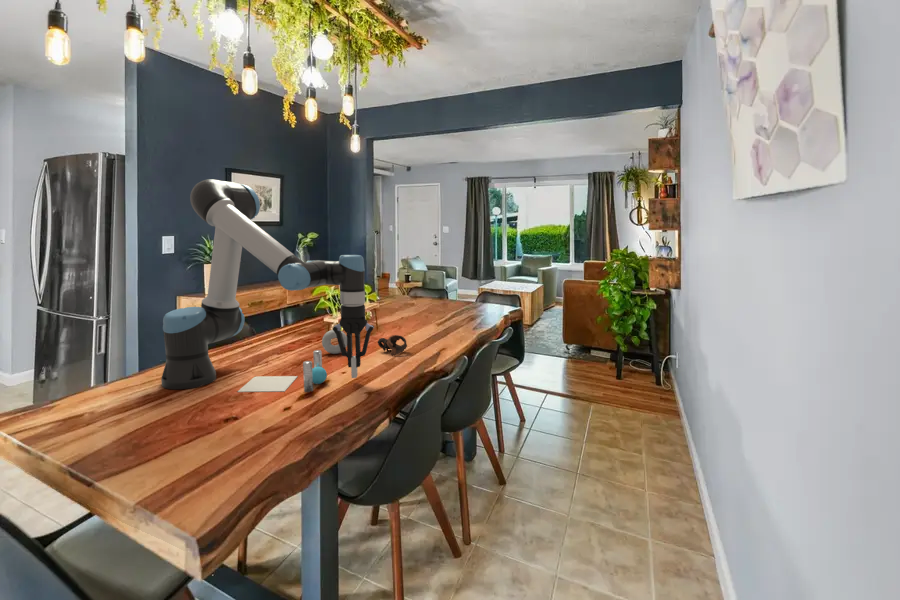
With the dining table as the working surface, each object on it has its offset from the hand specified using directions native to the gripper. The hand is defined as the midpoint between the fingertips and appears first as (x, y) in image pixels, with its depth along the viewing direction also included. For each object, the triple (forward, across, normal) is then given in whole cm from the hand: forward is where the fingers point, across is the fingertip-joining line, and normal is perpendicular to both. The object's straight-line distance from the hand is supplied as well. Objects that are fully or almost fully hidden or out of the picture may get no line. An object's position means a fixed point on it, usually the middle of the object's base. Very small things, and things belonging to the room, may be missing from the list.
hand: (354, 376), depth 141 cm
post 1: (+2, +13, +6) cm, 15 cm away
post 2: (+2, +13, -6) cm, 15 cm away
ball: (-1, +12, 0) cm, 12 cm away
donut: (+2, +13, -35) cm, 37 cm away
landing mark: (+2, +27, 0) cm, 27 cm away
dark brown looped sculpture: (+3, -10, -36) cm, 38 cm away
